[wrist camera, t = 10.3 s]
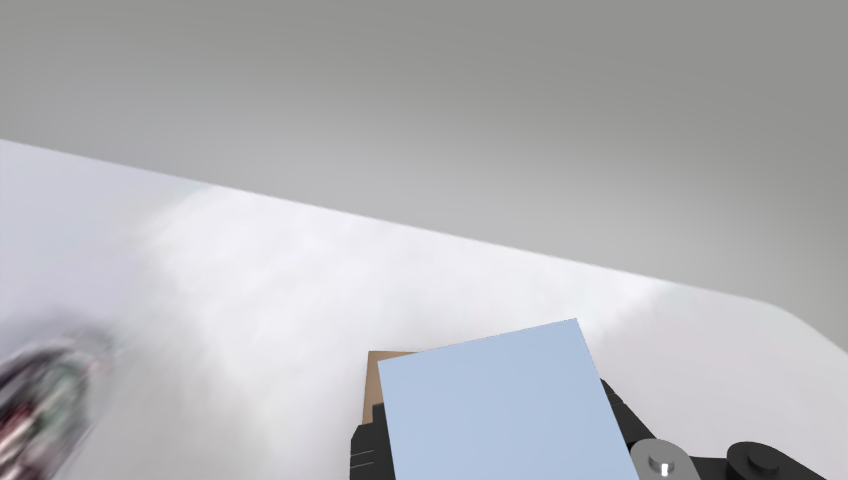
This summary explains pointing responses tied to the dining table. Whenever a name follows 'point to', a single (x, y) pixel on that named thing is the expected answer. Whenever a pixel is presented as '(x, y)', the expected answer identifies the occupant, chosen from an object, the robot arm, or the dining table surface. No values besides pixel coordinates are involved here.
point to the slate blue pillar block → (503, 410)
